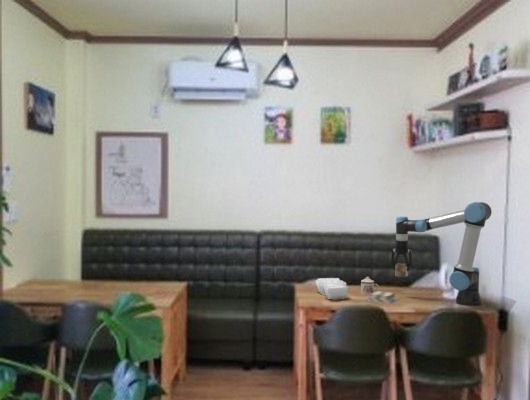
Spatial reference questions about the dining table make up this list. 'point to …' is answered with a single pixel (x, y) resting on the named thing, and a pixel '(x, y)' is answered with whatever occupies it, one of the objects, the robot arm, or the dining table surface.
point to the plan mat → (384, 302)
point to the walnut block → (401, 269)
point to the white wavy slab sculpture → (332, 288)
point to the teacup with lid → (368, 286)
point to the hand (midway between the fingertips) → (401, 275)
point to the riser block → (382, 296)
